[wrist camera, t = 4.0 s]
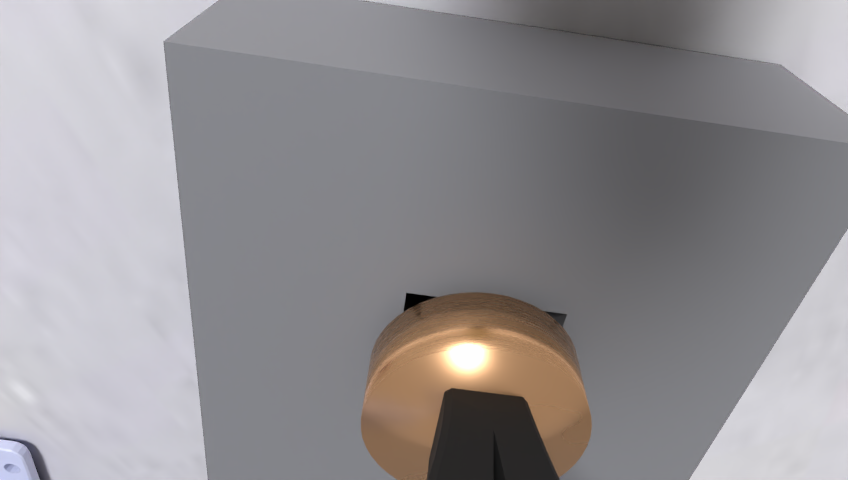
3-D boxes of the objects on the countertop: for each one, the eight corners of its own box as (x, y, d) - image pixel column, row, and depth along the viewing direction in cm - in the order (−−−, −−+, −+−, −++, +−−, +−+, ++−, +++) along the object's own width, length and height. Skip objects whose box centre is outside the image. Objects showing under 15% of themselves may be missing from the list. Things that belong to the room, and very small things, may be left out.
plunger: (529, 321, 16) (557, 511, 12) (381, 301, 16) (352, 486, 12) (569, 193, 14) (623, 366, 10) (397, 168, 14) (370, 333, 9)
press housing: (614, 416, 19) (648, 543, 15) (253, 370, 18) (209, 491, 15) (780, 64, 13) (897, 150, 9) (242, -18, 12) (163, 41, 9)
